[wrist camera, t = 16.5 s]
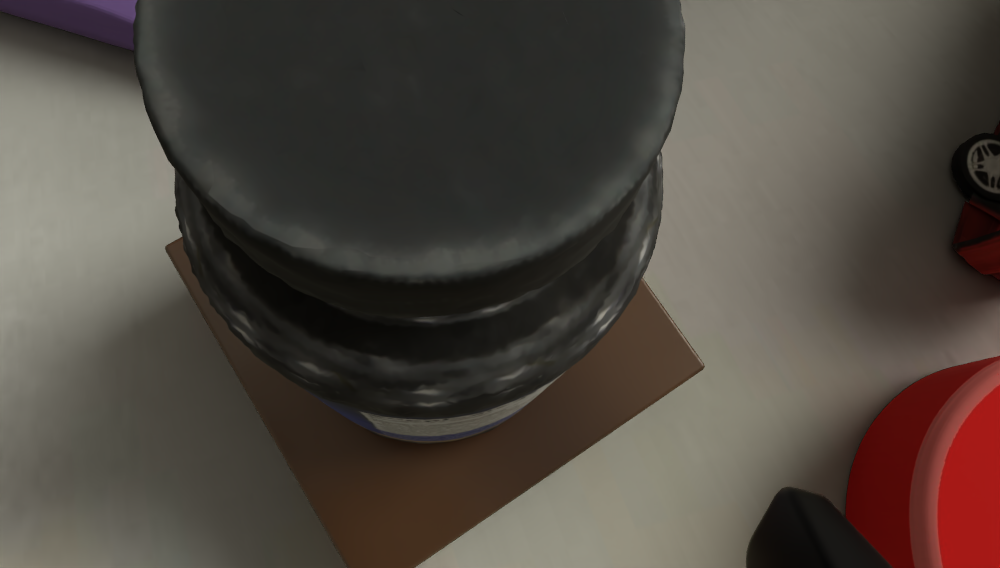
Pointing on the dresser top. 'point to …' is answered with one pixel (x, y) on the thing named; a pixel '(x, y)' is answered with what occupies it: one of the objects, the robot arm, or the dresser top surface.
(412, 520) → the walnut block
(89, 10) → the snack package
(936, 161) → the dresser top surface
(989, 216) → the toy car
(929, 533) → the decorative ornament
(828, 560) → the robot arm
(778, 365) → the dresser top surface
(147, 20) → the pill bottle
